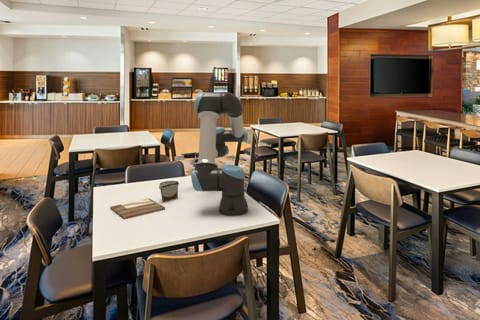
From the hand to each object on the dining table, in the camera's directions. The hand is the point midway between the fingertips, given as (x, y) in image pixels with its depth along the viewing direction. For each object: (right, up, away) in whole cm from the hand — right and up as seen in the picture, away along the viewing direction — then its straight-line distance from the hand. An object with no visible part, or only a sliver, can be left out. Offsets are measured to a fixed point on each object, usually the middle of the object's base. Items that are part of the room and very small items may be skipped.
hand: (182, 160), depth 210 cm
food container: (-8, -22, -4) cm, 24 cm away
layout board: (-20, -26, -20) cm, 38 cm away
